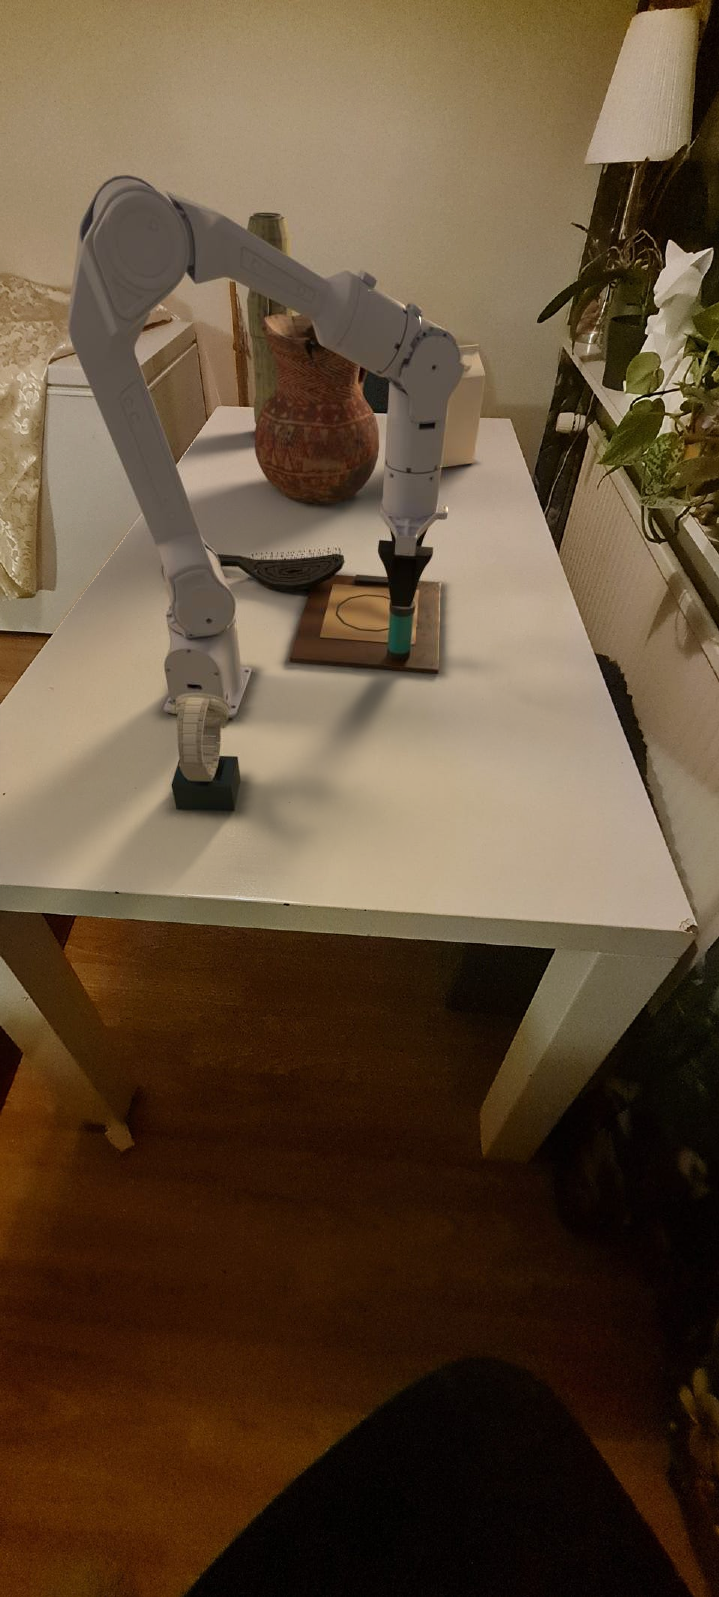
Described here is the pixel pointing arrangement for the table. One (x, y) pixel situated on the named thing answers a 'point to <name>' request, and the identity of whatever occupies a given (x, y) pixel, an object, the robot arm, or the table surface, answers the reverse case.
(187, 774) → the watch
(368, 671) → the table surface
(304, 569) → the hairbrush
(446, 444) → the milk carton
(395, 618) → the dot marker
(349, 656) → the clipboard
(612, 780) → the table surface
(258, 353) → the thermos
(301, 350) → the jug
